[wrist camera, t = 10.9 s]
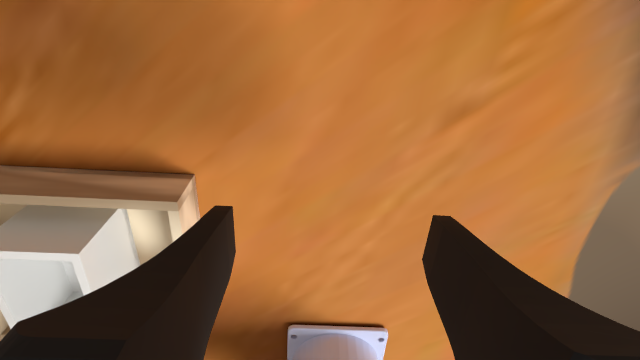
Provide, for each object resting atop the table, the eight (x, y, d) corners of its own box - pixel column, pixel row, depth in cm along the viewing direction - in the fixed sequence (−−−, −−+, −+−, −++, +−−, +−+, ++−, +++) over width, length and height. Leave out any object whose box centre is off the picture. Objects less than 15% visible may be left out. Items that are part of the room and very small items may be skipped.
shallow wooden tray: (211, 310, 28) (199, 346, 26) (27, 303, 28) (-6, 340, 25) (194, 174, 23) (177, 202, 20) (-38, 163, 22) (-90, 190, 19)
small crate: (147, 293, 27) (113, 355, 22) (72, 291, 26) (23, 353, 22) (124, 201, 23) (78, 254, 18) (36, 197, 23) (-31, 250, 18)
